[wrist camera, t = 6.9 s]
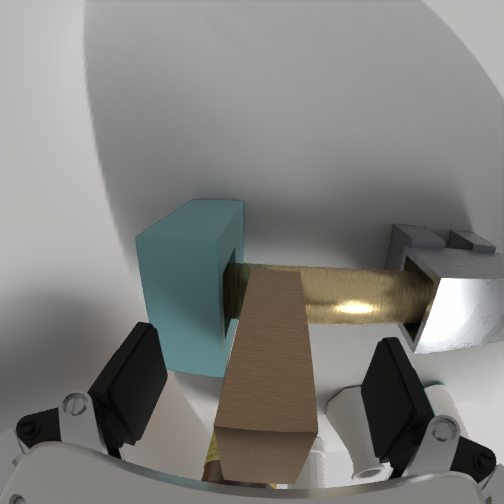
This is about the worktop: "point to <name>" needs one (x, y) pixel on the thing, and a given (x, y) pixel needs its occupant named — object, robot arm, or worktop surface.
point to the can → (444, 405)
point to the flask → (354, 432)
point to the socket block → (192, 282)
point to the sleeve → (452, 288)
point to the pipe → (312, 468)
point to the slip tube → (292, 355)
